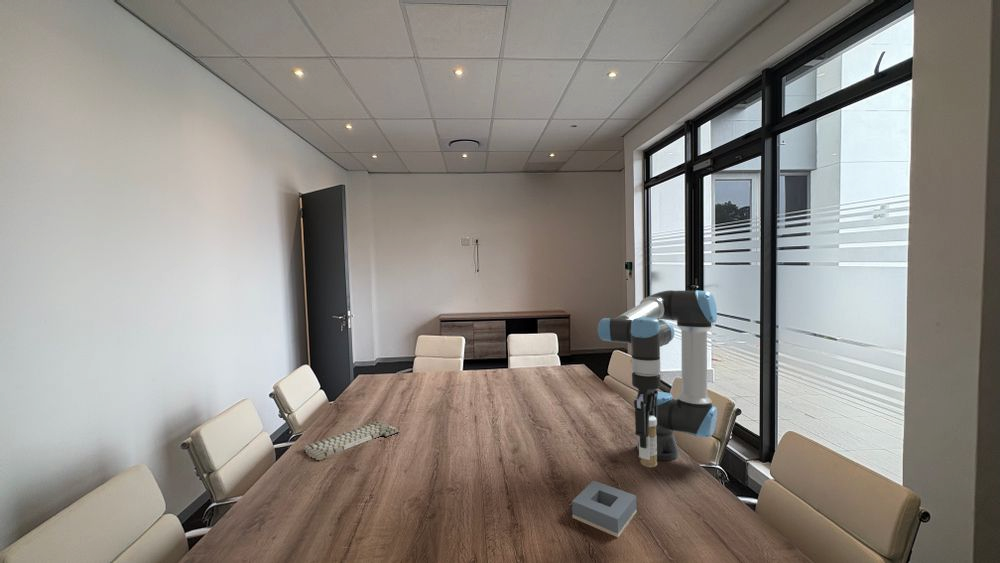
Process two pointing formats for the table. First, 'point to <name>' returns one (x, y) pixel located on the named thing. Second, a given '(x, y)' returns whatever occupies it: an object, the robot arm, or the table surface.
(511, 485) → the table surface
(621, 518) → the socket block
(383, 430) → the mechanical keyboard
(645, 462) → the sprinkles bottle
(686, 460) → the table surface
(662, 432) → the robot arm
